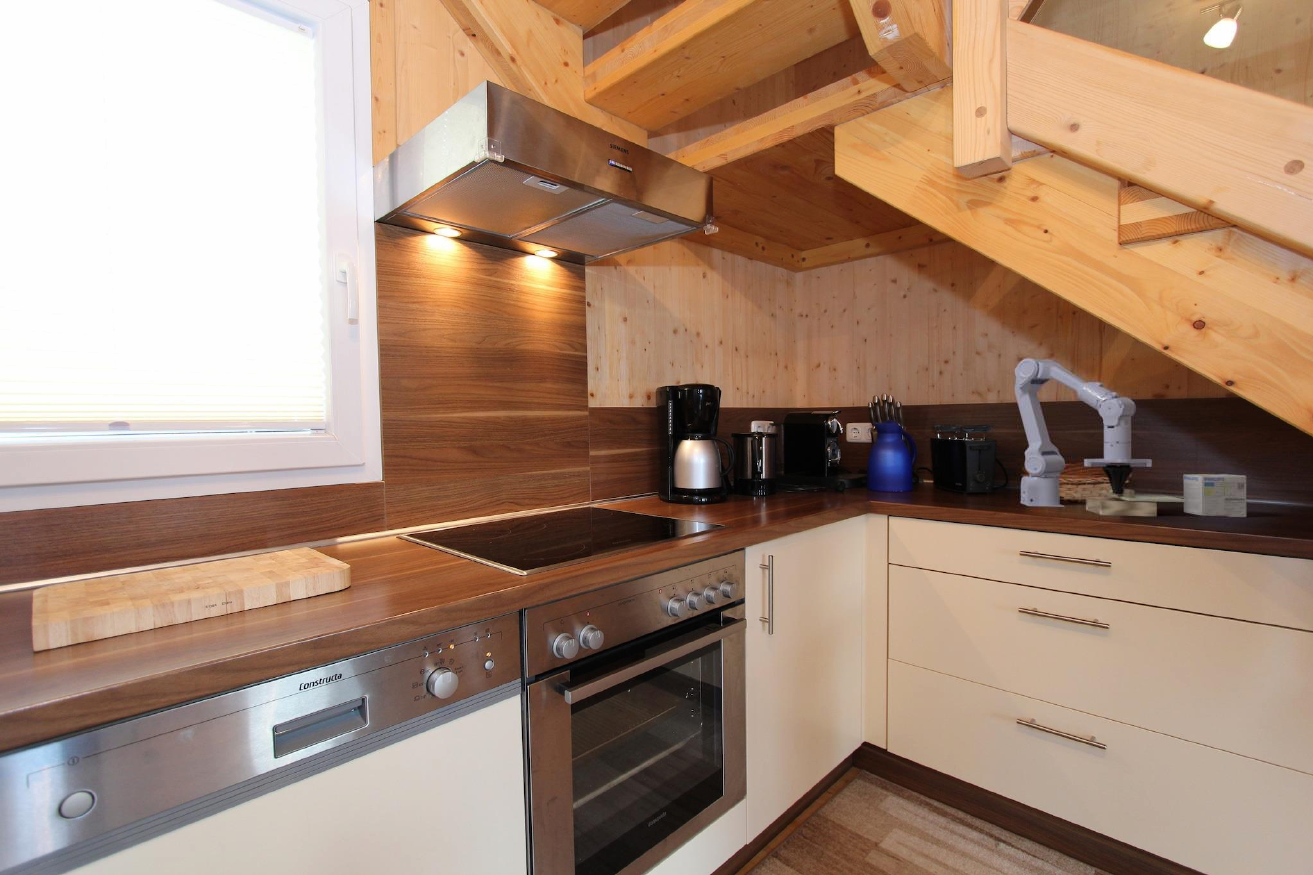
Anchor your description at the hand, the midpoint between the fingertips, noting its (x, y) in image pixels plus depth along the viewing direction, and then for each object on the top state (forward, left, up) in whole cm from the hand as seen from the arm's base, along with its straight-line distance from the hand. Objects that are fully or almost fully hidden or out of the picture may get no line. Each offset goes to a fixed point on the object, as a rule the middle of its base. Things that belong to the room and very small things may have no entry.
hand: (1117, 493), depth 158 cm
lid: (+7, 0, -1) cm, 7 cm away
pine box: (+1, 0, -6) cm, 6 cm away
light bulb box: (+23, +3, -6) cm, 24 cm away
